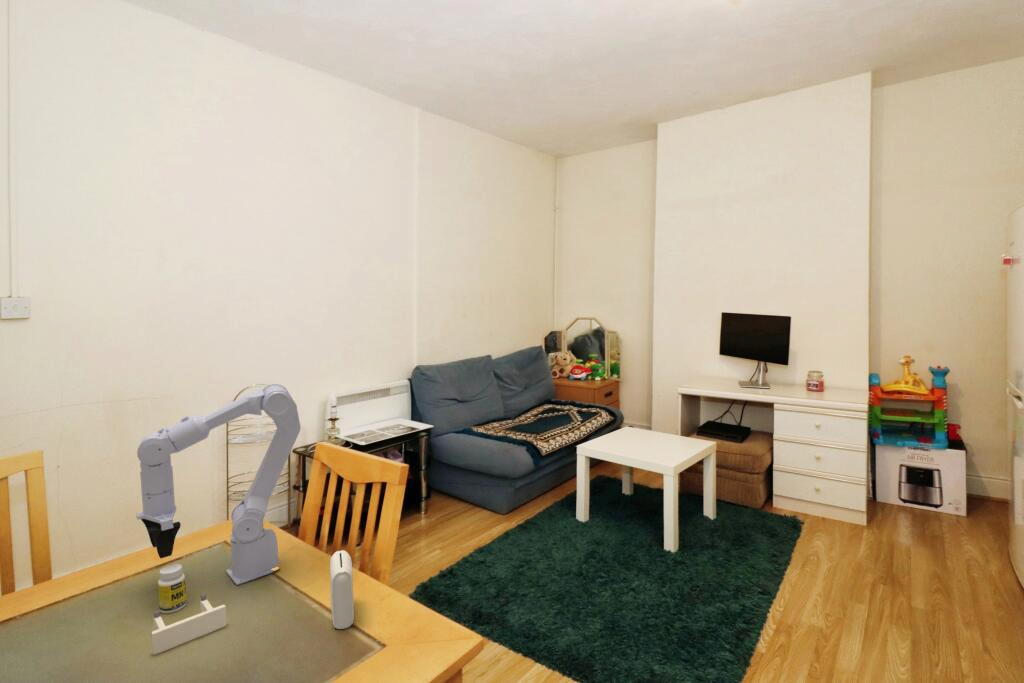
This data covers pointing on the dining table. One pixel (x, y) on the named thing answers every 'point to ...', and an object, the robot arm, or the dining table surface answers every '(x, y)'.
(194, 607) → the dining table surface
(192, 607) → the dining table surface
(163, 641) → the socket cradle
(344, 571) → the photo printer
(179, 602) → the supplement bottle
